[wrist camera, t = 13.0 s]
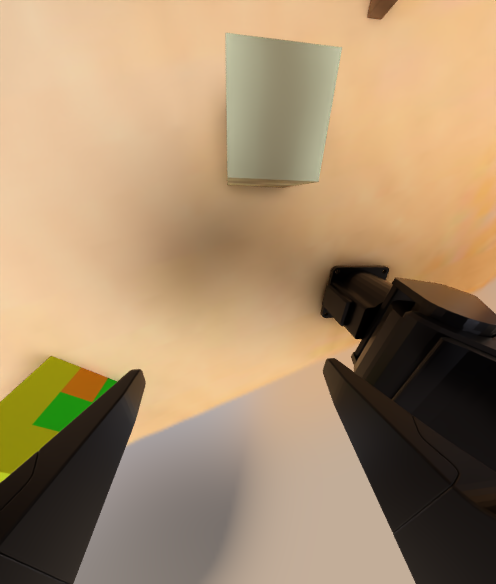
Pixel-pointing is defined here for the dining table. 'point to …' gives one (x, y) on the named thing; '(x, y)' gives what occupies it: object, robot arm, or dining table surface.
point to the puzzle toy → (44, 408)
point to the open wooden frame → (380, 8)
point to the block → (277, 109)
